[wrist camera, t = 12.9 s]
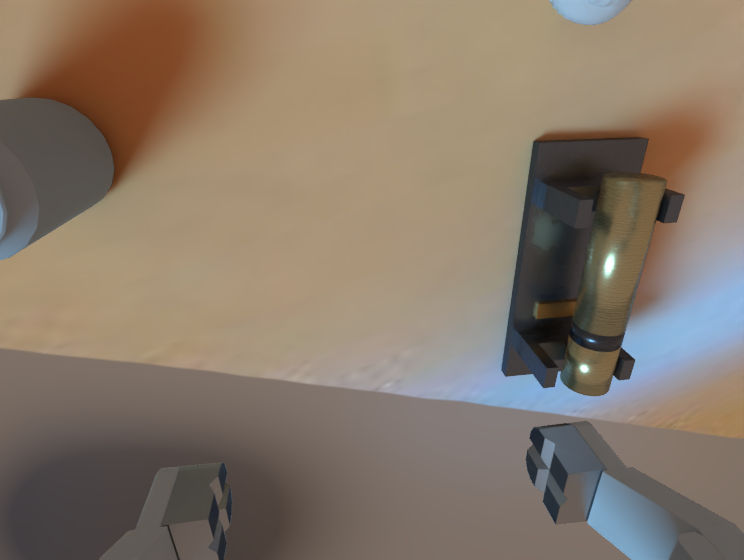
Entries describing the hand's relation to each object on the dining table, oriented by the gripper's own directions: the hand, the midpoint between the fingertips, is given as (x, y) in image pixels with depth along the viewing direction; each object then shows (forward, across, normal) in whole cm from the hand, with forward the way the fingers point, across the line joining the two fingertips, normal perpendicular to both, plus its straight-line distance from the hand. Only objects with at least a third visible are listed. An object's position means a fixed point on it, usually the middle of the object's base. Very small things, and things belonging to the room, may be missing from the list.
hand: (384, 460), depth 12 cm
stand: (+25, -20, +7) cm, 33 cm away
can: (+25, +19, -4) cm, 32 cm away
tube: (+22, -20, +7) cm, 31 cm away
